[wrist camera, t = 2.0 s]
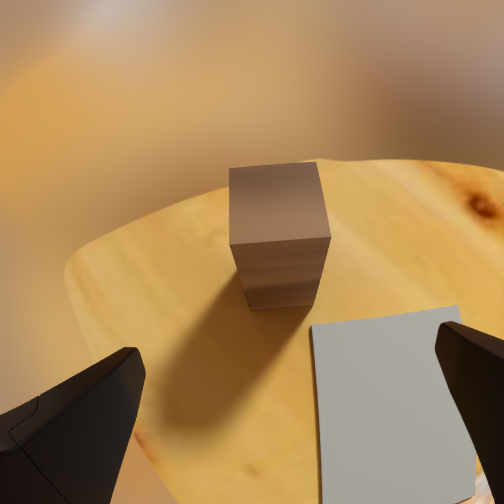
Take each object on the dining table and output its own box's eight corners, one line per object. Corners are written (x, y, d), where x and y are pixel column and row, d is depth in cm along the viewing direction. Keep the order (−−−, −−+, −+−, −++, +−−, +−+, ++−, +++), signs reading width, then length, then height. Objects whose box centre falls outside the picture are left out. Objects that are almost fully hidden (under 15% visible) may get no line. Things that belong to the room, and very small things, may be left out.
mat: (472, 494, 14) (474, 495, 14) (322, 536, 15) (323, 537, 14) (456, 306, 21) (457, 304, 21) (311, 325, 22) (311, 324, 22)
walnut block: (313, 306, 23) (331, 236, 14) (250, 310, 23) (229, 244, 14) (306, 250, 25) (315, 161, 16) (248, 255, 25) (229, 168, 16)
